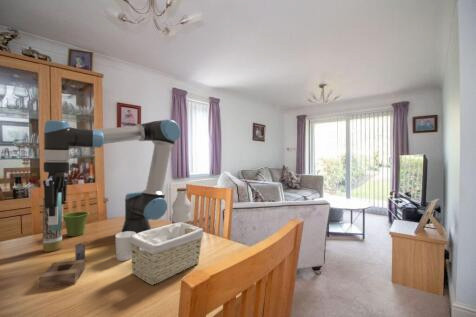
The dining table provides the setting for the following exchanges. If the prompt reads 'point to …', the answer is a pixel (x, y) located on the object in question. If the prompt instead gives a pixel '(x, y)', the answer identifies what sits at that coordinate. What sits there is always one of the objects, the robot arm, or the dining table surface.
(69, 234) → the plant pot
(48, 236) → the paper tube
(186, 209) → the fruit juice
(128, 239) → the white cup
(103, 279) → the dining table surface
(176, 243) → the storage basket
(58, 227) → the long pin
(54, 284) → the hole block
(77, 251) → the short pin
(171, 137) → the robot arm
